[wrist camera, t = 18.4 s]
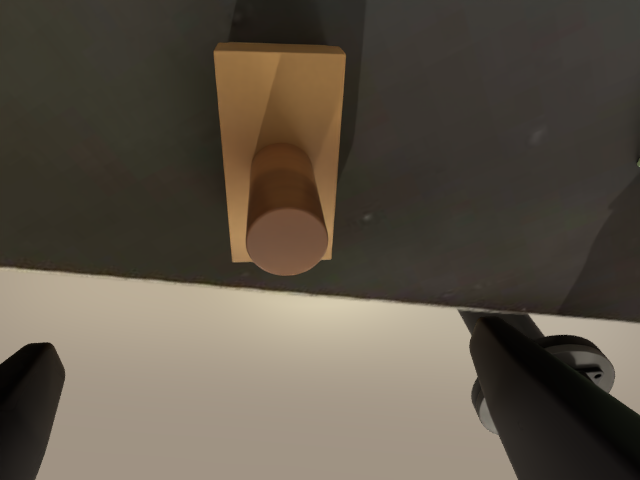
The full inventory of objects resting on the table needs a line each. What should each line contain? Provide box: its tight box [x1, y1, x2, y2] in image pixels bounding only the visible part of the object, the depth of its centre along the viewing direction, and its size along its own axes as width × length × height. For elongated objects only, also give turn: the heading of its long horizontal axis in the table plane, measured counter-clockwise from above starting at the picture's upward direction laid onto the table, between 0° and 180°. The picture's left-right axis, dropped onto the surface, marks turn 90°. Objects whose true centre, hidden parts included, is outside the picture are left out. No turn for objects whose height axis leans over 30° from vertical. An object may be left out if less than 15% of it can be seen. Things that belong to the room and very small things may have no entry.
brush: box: [214, 42, 346, 276], centre depth 15 cm, size 9×4×8 cm, turn 177°
